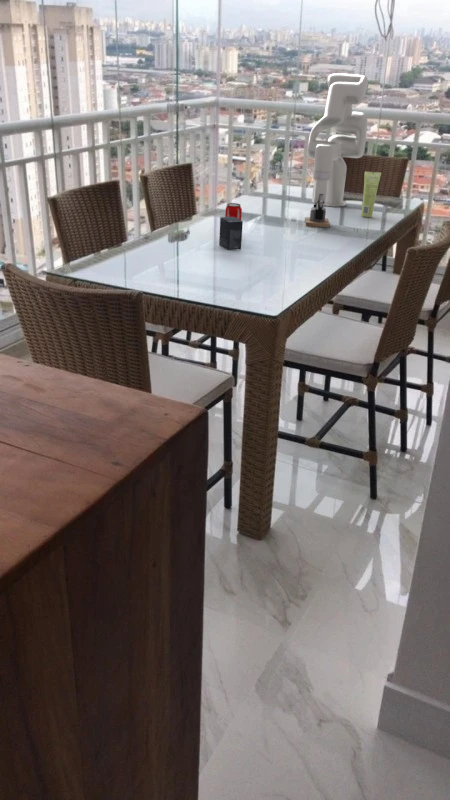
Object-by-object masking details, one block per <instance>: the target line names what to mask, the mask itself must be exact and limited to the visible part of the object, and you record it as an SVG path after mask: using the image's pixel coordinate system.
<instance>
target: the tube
mask: <svg viewBox="0 0 450 800" xmlns="http://www.w3.org/2000/svg"><path fill="white" fill-rule="evenodd" d="M381 176H382V172H379V171H378V172H377V171H366V170H365V171H364V177H363V178H364V182H363V196H362V204H361V205H362V206H361V214H360V215H361V216H362V217H363V218H372V217H373V213H374V209H375V203H376V198H377V192H378V187H379V183H380V180H381Z"/></svg>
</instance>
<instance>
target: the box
mask: <svg viewBox="0 0 450 800" xmlns="http://www.w3.org/2000/svg"><path fill="white" fill-rule="evenodd" d="M242 237H243V220H242V219H241V220H239V219H237V218H235V217H225V216H221V217H220V218H219V240H218V242H219V243H218V245H219V246H220V247H222V248H223V249H226V250H227V251H237V249H239V250H242V242H243V240H242V239H243V238H242Z"/></svg>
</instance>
